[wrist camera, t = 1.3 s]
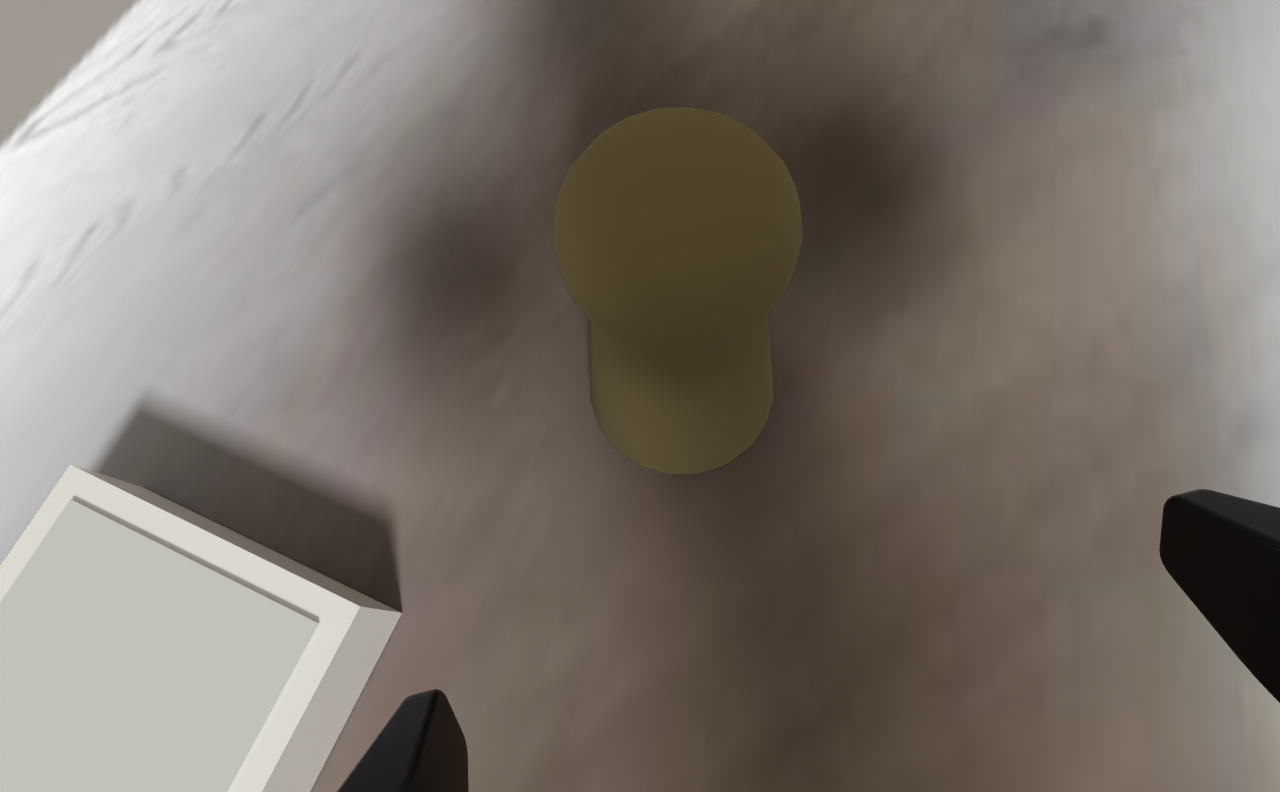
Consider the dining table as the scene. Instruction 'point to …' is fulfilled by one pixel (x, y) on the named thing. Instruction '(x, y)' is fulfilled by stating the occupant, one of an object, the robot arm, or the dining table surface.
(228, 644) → the tray
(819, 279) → the dining table surface
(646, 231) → the cork
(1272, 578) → the robot arm
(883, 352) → the dining table surface
